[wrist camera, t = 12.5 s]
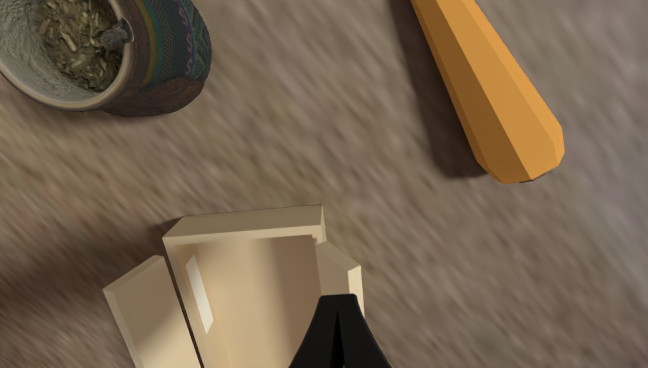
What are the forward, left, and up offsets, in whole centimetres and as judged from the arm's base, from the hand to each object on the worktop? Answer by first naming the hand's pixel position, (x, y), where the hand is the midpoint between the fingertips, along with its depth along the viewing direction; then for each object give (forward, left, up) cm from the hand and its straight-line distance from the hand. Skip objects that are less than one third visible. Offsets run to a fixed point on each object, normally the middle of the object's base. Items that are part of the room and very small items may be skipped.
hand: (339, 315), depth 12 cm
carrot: (-7, -11, -11) cm, 17 cm away
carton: (+6, +8, -10) cm, 14 cm away
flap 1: (+11, +8, -5) cm, 14 cm away
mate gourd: (+9, -11, -11) cm, 18 cm away
